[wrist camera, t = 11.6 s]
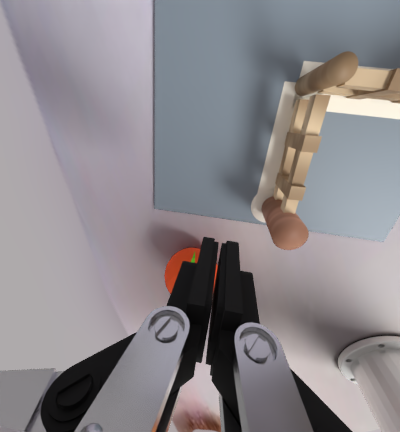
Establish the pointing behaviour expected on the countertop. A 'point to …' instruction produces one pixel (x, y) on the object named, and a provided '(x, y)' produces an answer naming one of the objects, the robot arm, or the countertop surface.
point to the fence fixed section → (350, 80)
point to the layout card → (273, 110)
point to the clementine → (176, 262)
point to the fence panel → (295, 173)
